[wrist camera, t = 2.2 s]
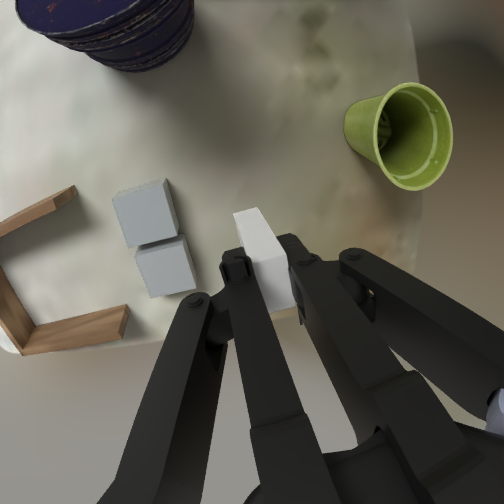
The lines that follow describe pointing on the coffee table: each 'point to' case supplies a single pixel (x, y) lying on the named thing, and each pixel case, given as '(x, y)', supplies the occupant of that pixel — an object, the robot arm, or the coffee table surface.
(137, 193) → the tile
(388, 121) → the plant pot
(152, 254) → the tile
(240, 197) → the coffee table surface
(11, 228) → the frame
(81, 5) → the storage jar
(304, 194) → the coffee table surface
